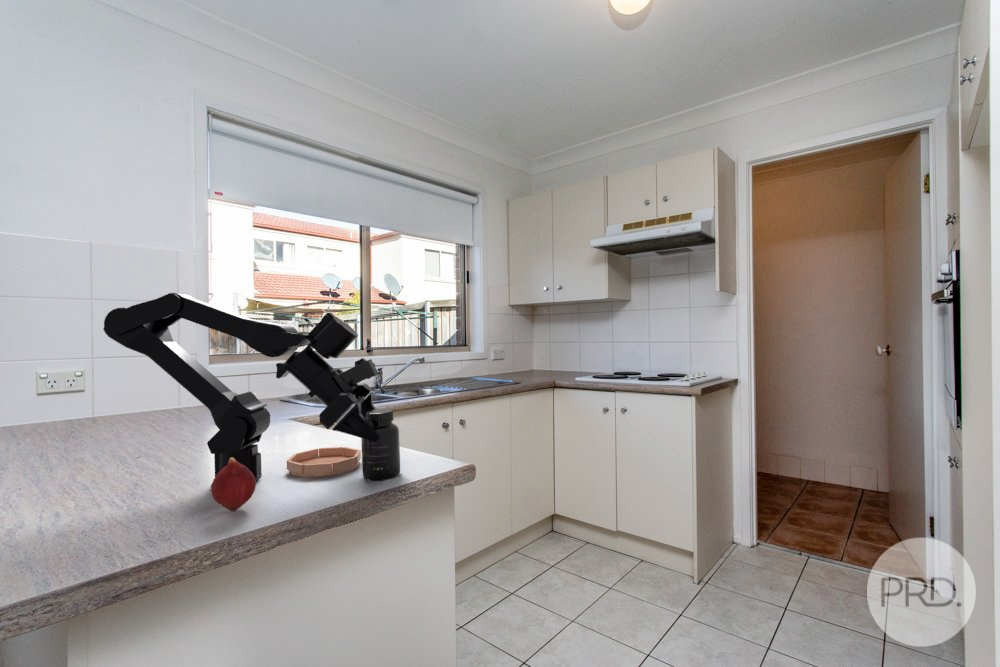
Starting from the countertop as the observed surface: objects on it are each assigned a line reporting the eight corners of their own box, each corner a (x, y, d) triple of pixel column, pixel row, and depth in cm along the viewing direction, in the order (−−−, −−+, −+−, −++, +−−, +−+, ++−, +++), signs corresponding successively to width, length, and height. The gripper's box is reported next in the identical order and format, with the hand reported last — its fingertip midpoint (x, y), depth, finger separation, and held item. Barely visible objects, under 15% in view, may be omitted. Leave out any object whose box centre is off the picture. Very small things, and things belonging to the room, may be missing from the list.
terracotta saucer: (280, 479, 86) (280, 466, 86) (299, 460, 99) (298, 449, 99) (354, 475, 88) (354, 462, 88) (363, 456, 101) (363, 445, 101)
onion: (264, 503, 74) (262, 452, 74) (240, 518, 68) (239, 463, 68) (229, 503, 75) (227, 452, 75) (202, 517, 69) (201, 462, 69)
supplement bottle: (366, 471, 91) (364, 408, 91) (402, 469, 91) (401, 407, 91) (358, 482, 84) (357, 414, 84) (397, 480, 85) (396, 413, 85)
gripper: (337, 346, 78) (407, 410, 79) (360, 343, 96) (416, 395, 98) (288, 396, 77) (360, 460, 78) (321, 383, 96) (378, 435, 97)
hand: (382, 434), depth 88 cm, fingers open, 9 cm apart
